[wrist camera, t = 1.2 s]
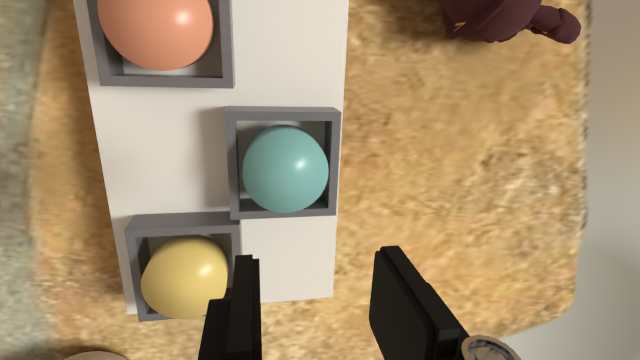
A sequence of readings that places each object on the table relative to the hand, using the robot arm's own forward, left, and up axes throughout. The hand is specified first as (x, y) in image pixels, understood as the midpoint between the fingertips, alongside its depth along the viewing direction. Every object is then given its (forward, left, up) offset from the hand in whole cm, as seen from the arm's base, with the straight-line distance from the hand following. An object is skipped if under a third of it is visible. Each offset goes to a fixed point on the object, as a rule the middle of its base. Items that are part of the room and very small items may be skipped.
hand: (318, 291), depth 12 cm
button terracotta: (-9, -7, -15) cm, 19 cm away
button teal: (0, 0, -15) cm, 15 cm away
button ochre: (+8, -7, -15) cm, 18 cm away
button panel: (0, -4, -19) cm, 20 cm away
